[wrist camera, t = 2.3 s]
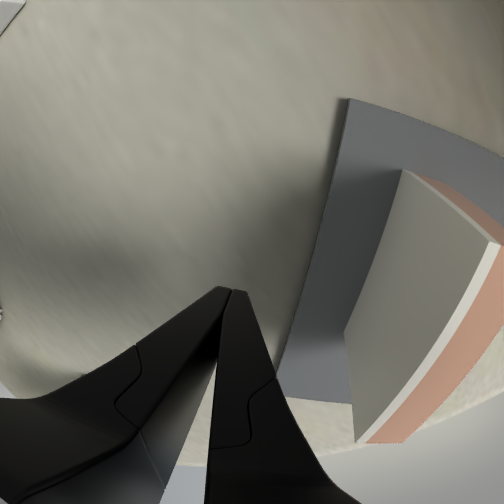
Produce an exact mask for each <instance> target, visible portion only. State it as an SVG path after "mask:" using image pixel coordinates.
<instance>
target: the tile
mask: <svg viewBox="0 0 504 504" xmlns="http://www.w3.org/2000/svg"><path fill="white" fill-rule="evenodd" d="M503 324H504V227H503V226H501V225H500V224H499V223H498V222H497V221H495V220H494V219H493V218H492V217H490V216H489V215H488V214H487V213H485V212H484V211H483V210H482V209H480V208H479V207H478V206H476V205H475V204H474V203H472V202H471V201H470V200H468V199H467V198H466V197H464V196H463V195H461V194H460V193H459V192H457V191H456V190H454V189H453V188H451V187H450V186H449V185H447V184H446V183H443V182H440V181H438V180H435V179H432V178H429V177H426V176H423V175H420V174H417V173H414V172H411V171H407V170H404V169H403V170H402V174H401V177H400V181H399V184H398V188H397V191H396V194H395V198H394V201H393V204H392V207H391V211H390V214H389V217H388V220H387V223H386V226H385V229H384V232H383V235H382V238H381V240H380V243H379V246H378V249H377V252H376V254H375V257H374V260H373V262H372V265H371V268H370V270H369V273H368V276H367V278H366V281H365V283H364V286H363V288H362V291H361V293H360V295H359V298H358V300H357V303H356V305H355V307H354V310H353V312H352V314H351V317H350V319H349V321H348V323H347V326H346V328H345V330H344V339H345V346H346V354H347V362H348V371H349V380H350V390H351V400H352V411H353V424H354V439H355V443H402V442H403V441H405V440H406V439H407V438H408V437H409V436H410V435H411V434H412V433H413V432H414V431H415V430H416V429H417V428H418V427H420V426H421V425H422V424H423V423H424V422H425V421H426V420H427V419H428V418H429V417H430V416H431V415H432V414H433V413H434V411H435V410H436V409H437V408H438V407H439V406H440V405H441V404H442V403H443V402H444V401H445V400H446V399H447V397H448V396H449V395H450V394H451V393H452V392H453V391H454V390H455V388H456V387H457V386H458V385H459V384H460V383H461V381H462V380H463V379H464V378H465V376H466V375H467V374H468V373H469V371H470V370H471V369H472V368H473V366H474V365H475V364H476V363H477V361H478V360H479V359H480V357H481V356H482V354H483V353H484V352H485V350H486V349H487V348H488V346H489V345H490V343H491V342H492V340H493V339H494V338H495V336H496V335H497V333H498V332H499V330H500V329H501V327H502V325H503Z"/></svg>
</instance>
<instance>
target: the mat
mask: <svg viewBox="0 0 504 504" xmlns="http://www.w3.org/2000/svg"><path fill="white" fill-rule="evenodd" d="M403 169H404V170H407V171H411V172H414V173H417V174H420V175H423V176H426V177H429V178H432V179H435V180H438V181H440V182H443V183H446V184H447V185H449V186H450V187H451V188H453V189H454V190H456V191H457V192H459V193H460V194H461V195H463V196H464V197H466V198H467V199H468V200H470V201H471V202H472V203H474V204H475V205H476V206H478V207H479V208H480V209H482V210H483V211H484V212H485V213H487V214H488V215H489V216H490V217H492V218H493V219H494V220H495V221H497V222H498V223H499V224H500V225H501V226H503V227H504V158H502V157H500V156H498V155H497V154H495V153H493V152H491V151H489V150H487V149H485V148H483V147H481V146H479V145H477V144H475V143H473V142H470V141H468V140H466V139H464V138H462V137H460V136H457V135H455V134H453V133H450V132H448V131H446V130H443V129H441V128H438V127H436V126H433V125H431V124H428V123H426V122H423V121H420V120H418V119H415V118H412V117H409V116H407V115H404V114H401V113H398V112H395V111H392V110H389V109H386V108H382V107H379V106H376V105H373V104H369V103H366V102H362V101H359V100H355V99H351V98H349V100H348V105H347V110H346V115H345V120H344V125H343V130H342V135H341V140H340V144H339V149H338V153H337V158H336V162H335V167H334V171H333V175H332V180H331V184H330V188H329V192H328V196H327V200H326V204H325V208H324V212H323V216H322V220H321V224H320V228H319V232H318V235H317V239H316V243H315V247H314V250H313V254H312V258H311V261H310V265H309V268H308V272H307V275H306V279H305V282H304V286H303V289H302V293H301V296H300V299H299V303H298V306H297V309H296V313H295V316H294V319H293V322H292V325H291V329H290V332H289V335H288V338H287V341H286V344H285V347H284V350H283V353H282V357H281V360H280V363H279V366H278V368H277V371H276V375H277V379H278V381H279V383H280V386H281V389H282V391H283V394H284V396H286V397H293V398H300V399H308V400H316V401H325V402H336V403H348V404H352V400H351V390H350V380H349V371H348V362H347V354H346V346H345V339H344V330H345V328H346V326H347V323H348V321H349V319H350V317H351V314H352V312H353V310H354V307H355V305H356V303H357V300H358V298H359V295H360V293H361V291H362V288H363V286H364V283H365V281H366V278H367V276H368V273H369V270H370V268H371V265H372V262H373V260H374V257H375V254H376V252H377V249H378V246H379V243H380V240H381V238H382V235H383V232H384V229H385V226H386V223H387V220H388V217H389V214H390V211H391V207H392V204H393V201H394V198H395V194H396V191H397V188H398V184H399V181H400V177H401V174H402V170H403Z"/></svg>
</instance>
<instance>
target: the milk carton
mask: <svg viewBox="0 0 504 504" xmlns="http://www.w3.org/2000/svg"><path fill="white" fill-rule="evenodd" d="M24 4H25V0H0V35H1V33H2V32H3V31H4V29H5V28H6V27H7V25H8V24H9V23H10V21H11V20H12V19H13V17H14V16H15V15H16V14H17V12H18V11H19V10H20V9H21V8H22V6H23V5H24Z"/></svg>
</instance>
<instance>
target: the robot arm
mask: <svg viewBox="0 0 504 504" xmlns="http://www.w3.org/2000/svg"><path fill="white" fill-rule="evenodd" d="M216 363H217V367H216V376H215V386H214V396H213V406H212V417H211V427H210V438H209V449H208V461H207V473H206V484H205V497H204V504H361V503H360V502H359V501H357V500H356V499H354V498H353V497H351V496H350V495H348V494H347V493H346V492H344V491H343V490H342V489H340V488H339V487H338V486H337V485H336V484H335V483H334V482H333V481H332V480H331V479H330V478H329V477H328V475H327V474H326V473H325V471H324V470H323V468H322V466H321V465H320V463H319V461H318V460H317V458H316V456H315V454H314V453H313V451H312V449H311V447H310V446H309V444H308V442H307V440H306V438H305V437H304V435H303V433H302V431H301V430H300V428H299V426H298V424H297V422H296V420H295V418H294V416H293V414H292V412H291V410H290V408H289V406H288V404H287V401H286V399H285V396H284V394H283V391H282V389H281V386H280V383H279V381H278V379H277V375H276V373H275V370H274V367H273V364H272V361H271V359H270V356H269V353H268V350H267V347H266V344H265V342H264V339H263V336H262V333H261V330H260V327H259V324H258V322H257V319H256V316H255V313H254V310H253V307H252V304H251V301H250V298H249V296H248V293H247V292H246V291H242V290H237V289H233V290H231V288H227V287H222V286H217V287H215V288H214V289H212V290H211V291H209V292H208V293H207V294H205V295H204V296H202V297H201V298H200V299H198V300H197V301H195V302H194V303H192V304H191V305H190V306H188V307H187V308H185V309H184V310H183V311H181V312H180V313H178V314H177V315H176V316H174V317H173V318H171V319H170V320H168V321H167V322H166V323H164V324H163V325H161V326H160V327H159V328H157V329H156V330H154V331H153V332H151V333H150V334H149V335H147V336H146V337H144V338H143V339H142V340H140V341H139V342H137V343H136V345H133V346H131V347H130V348H129V349H127V350H126V351H124V352H123V353H121V354H120V355H118V356H117V357H115V358H114V359H112V360H111V361H109V362H107V363H106V364H104V365H102V366H100V367H99V368H97V369H95V370H93V371H92V372H90V373H88V374H86V375H84V376H82V377H80V378H78V379H76V380H74V381H73V382H71V383H69V384H67V385H65V386H63V387H61V388H59V389H57V390H55V391H53V392H51V393H49V394H47V395H44V396H41V397H37V398H31V399H11V398H0V504H159V503H160V500H161V498H162V495H163V493H164V489H165V488H166V485H167V483H168V481H169V479H170V476H171V474H172V471H173V469H174V466H175V464H176V462H177V459H178V457H179V454H180V452H181V450H182V447H183V445H184V442H185V440H186V437H187V435H188V433H189V430H190V428H191V425H192V423H193V420H194V418H195V415H196V413H197V411H198V408H199V406H200V403H201V401H202V398H203V396H204V393H205V391H206V388H207V386H208V384H209V381H210V379H211V376H212V374H213V371H214V369H215V366H216Z"/></svg>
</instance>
